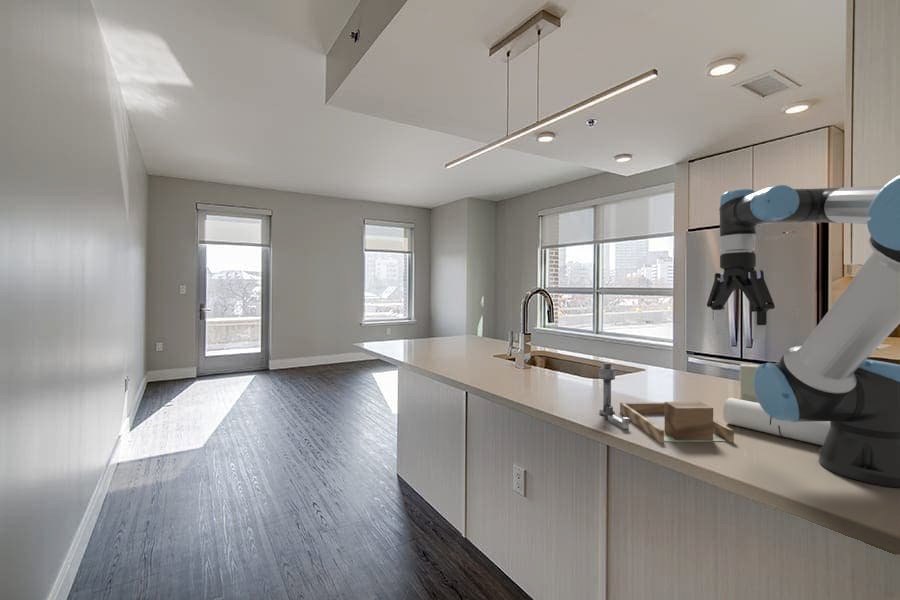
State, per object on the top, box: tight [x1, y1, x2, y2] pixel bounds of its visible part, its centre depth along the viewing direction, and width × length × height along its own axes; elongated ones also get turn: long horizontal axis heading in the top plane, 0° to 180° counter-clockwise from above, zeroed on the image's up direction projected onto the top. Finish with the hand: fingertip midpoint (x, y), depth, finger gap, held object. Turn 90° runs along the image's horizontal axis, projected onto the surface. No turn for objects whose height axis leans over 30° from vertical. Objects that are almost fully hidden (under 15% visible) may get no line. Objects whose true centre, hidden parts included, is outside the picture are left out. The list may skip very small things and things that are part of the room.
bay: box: [619, 402, 735, 444], centre depth 116 cm, size 25×18×3 cm
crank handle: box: [605, 405, 631, 430], centre depth 118 cm, size 10×2×4 cm, turn 9°
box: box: [739, 363, 759, 403], centre depth 136 cm, size 5×4×13 cm
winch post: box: [598, 362, 616, 417], centre depth 127 cm, size 4×4×15 cm
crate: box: [663, 401, 714, 440], centre depth 108 cm, size 6×9×8 cm, turn 89°
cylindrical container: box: [722, 397, 830, 447], centre depth 108 cm, size 7×7×25 cm
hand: (737, 336), depth 108 cm, fingers open, 13 cm apart
